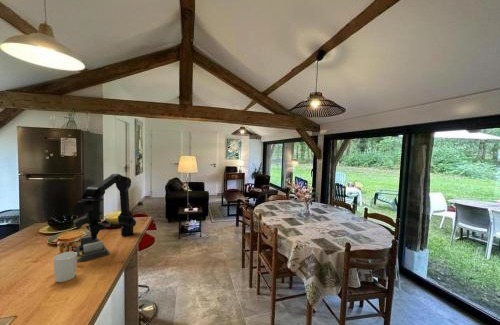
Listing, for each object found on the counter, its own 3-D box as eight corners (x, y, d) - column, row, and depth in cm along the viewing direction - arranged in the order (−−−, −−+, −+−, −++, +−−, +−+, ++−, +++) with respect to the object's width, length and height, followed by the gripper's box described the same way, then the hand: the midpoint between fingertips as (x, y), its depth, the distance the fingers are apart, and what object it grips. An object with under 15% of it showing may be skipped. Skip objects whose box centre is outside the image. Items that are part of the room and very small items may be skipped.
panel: (101, 251, 121) (101, 240, 121) (102, 253, 119) (102, 242, 119) (83, 255, 115) (83, 244, 115) (84, 257, 113) (84, 246, 113)
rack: (100, 242, 134) (101, 231, 134) (110, 254, 119) (110, 242, 119) (71, 248, 124) (71, 237, 124) (77, 262, 109) (78, 249, 109)
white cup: (49, 279, 94) (50, 256, 94) (71, 271, 101) (71, 250, 101) (58, 285, 91) (59, 261, 90) (80, 276, 98) (80, 254, 97)
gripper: (71, 209, 117) (71, 238, 118) (77, 217, 104) (77, 249, 105) (96, 206, 125) (96, 233, 126) (105, 213, 112) (104, 243, 113)
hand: (93, 239), depth 117 cm, fingers closed
